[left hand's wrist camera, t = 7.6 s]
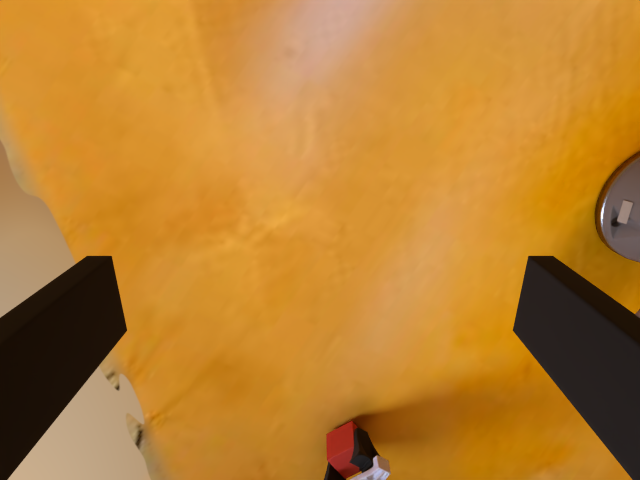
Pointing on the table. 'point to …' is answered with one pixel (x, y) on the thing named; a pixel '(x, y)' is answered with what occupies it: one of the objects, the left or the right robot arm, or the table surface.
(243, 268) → the table surface
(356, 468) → the block
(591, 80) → the table surface
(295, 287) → the table surface
